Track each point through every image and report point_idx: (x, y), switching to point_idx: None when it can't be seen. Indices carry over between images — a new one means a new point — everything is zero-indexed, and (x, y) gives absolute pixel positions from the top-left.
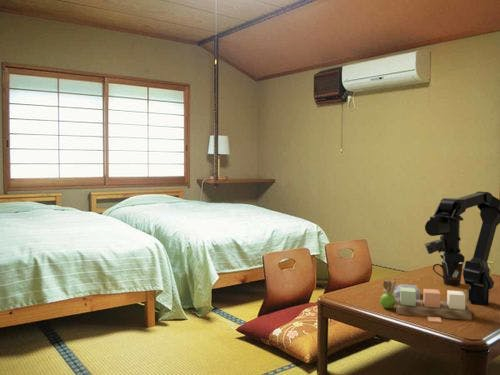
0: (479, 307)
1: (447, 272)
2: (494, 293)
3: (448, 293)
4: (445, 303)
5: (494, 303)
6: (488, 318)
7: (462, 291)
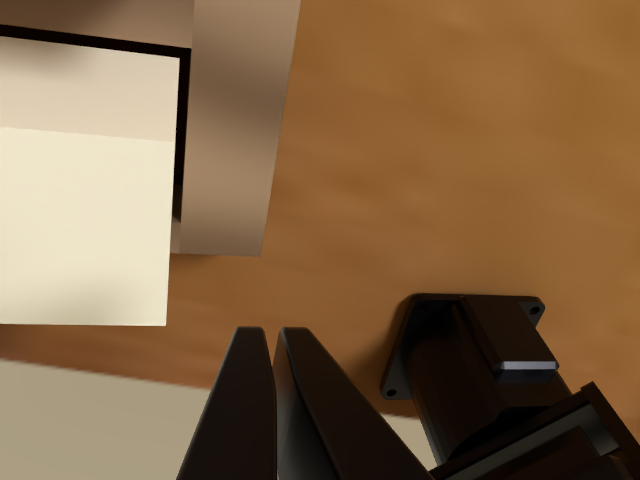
0: (326, 325)
1: (306, 383)
2: None
3: (36, 121)
4: (201, 43)
5: None
6: (37, 328)
7: (154, 323)
